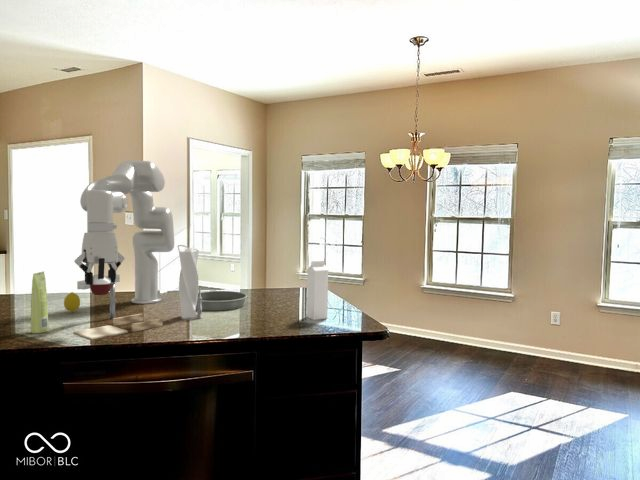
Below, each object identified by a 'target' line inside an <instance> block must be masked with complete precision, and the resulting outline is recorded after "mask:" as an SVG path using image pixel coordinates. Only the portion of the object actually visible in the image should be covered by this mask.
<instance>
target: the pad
mask: <svg viewBox="0 0 640 480" xmlns="http://www.w3.org/2000/svg"><path fill="white" fill-rule="evenodd" d="M72 333H73V334H74V335H77V336H80V337H83V338H86V339H89V340H91V341H92V340H97V339H102V338H107V337H112V336H117V335H123V334H128V333H129V330H127V329H123V328H119V327H117V326H113V325H111V324H109V325H103V326H96V327H92V328H88V329H87V328H86V329H80V330H75V331H73V332H72Z"/></svg>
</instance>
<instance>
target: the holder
mask: <svg viewBox="0 0 640 480" xmlns="http://www.w3.org/2000/svg"><path fill="white" fill-rule="evenodd" d="M127 324H131V332H139V331H143V330H147V329H153V328H159V327H163V318H162V317H161V318H156V319H150V320H145V321H144V313H138V314H137V313H136V314H131V315H125V316H119V317H115V318H113V319H112V326H114V327H117V326H122V325H127Z"/></svg>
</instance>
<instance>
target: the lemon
mask: <svg viewBox="0 0 640 480" xmlns="http://www.w3.org/2000/svg"><path fill="white" fill-rule="evenodd" d="M63 306H64V308H65V310H67V311H68V312H70V313H74V312H75V311H77V310H79V308H80V306H81V300H80V297H79V295H78V294H77V293H74V292H72V291H71V292H70V293H68V294H67V295H65V297H64V299H63Z"/></svg>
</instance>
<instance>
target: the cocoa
mask: <svg viewBox="0 0 640 480" xmlns="http://www.w3.org/2000/svg"><path fill="white" fill-rule="evenodd" d="M105 264H106V263H105V259H104V258H99V264H97V265H98V266H97V267H98V270H97V273H96V274H93V284H92V285H90V288H89V289H90V292H91V293H92V295H94V296H105V295H107V294H110V289H111V279H110V278H108V277H106V276H107V275H105Z"/></svg>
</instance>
